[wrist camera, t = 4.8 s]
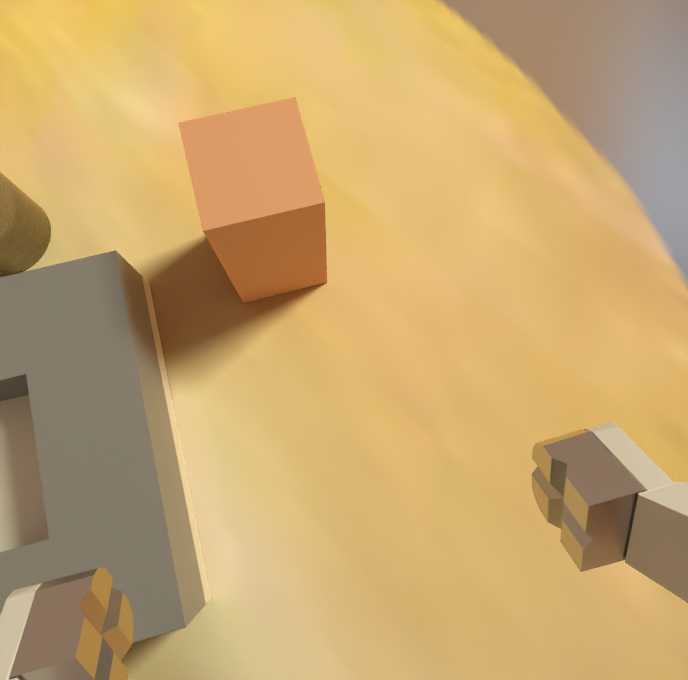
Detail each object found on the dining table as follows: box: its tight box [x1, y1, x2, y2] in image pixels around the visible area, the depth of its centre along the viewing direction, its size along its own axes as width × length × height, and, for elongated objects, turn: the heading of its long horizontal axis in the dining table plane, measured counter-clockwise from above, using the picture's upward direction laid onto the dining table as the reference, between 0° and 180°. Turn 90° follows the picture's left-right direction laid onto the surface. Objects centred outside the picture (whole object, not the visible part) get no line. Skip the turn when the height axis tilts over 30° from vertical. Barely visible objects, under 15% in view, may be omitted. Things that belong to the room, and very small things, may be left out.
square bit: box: [179, 98, 327, 303], centre depth 22 cm, size 4×4×8 cm
